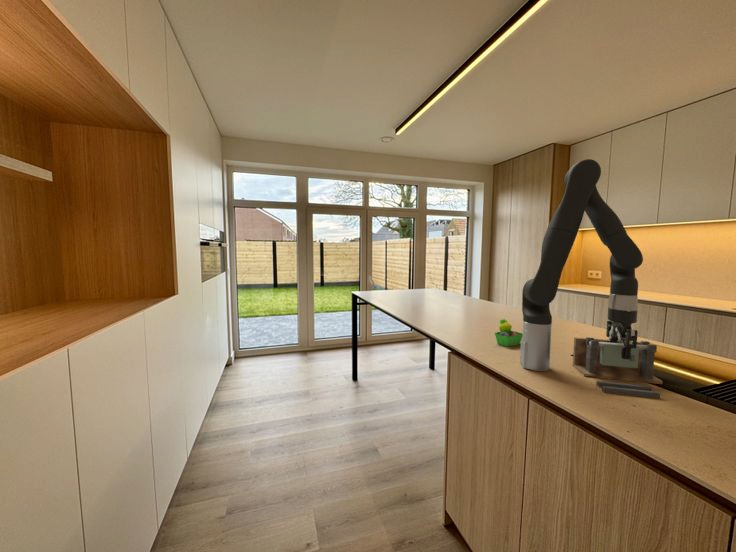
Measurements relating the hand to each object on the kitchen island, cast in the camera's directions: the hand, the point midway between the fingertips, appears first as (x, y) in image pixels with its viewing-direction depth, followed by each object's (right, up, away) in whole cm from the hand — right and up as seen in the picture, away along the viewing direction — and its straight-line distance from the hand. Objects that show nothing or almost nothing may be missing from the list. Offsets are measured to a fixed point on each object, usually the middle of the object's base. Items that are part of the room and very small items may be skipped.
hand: (619, 354), depth 100 cm
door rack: (-6, -9, -10) cm, 15 cm away
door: (0, -4, +1) cm, 4 cm away
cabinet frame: (+1, -8, +3) cm, 8 cm away
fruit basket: (-20, -5, +38) cm, 43 cm away
